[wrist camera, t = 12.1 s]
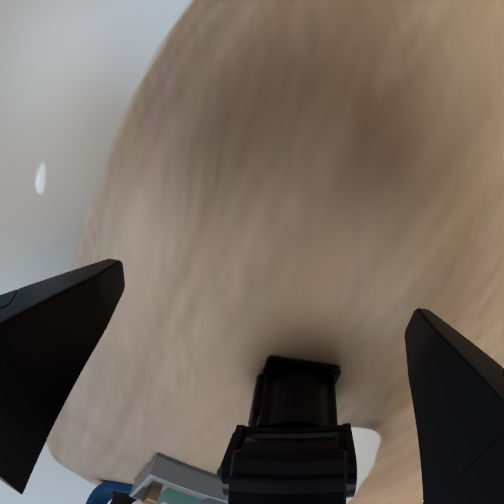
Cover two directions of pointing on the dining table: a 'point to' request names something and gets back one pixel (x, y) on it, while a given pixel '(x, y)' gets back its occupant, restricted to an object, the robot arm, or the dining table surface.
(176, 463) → the tote
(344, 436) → the robot arm
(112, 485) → the handheld scanner
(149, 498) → the walnut block
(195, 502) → the carton
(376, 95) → the dining table surface
